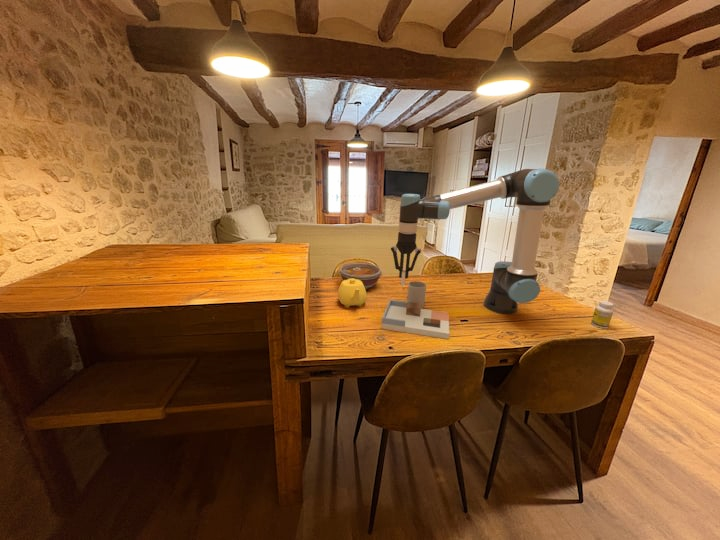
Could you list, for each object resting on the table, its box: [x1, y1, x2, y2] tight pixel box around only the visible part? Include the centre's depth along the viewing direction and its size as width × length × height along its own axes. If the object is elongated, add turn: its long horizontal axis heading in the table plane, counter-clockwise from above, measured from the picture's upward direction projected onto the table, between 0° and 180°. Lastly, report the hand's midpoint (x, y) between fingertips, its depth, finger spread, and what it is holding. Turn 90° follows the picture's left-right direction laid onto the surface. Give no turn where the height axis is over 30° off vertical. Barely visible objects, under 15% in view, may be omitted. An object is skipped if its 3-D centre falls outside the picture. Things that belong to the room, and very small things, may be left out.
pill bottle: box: [590, 300, 614, 329], centre depth 131 cm, size 6×6×11 cm
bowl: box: [339, 262, 382, 290], centre depth 168 cm, size 23×23×10 cm
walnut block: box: [406, 302, 422, 317], centre depth 133 cm, size 6×6×4 cm
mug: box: [406, 280, 427, 309], centre depth 147 cm, size 12×8×11 cm
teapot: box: [337, 278, 368, 309], centre depth 144 cm, size 14×20×13 cm
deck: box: [381, 299, 450, 340], centre depth 129 cm, size 27×19×5 cm
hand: (402, 284), depth 132 cm, fingers closed
